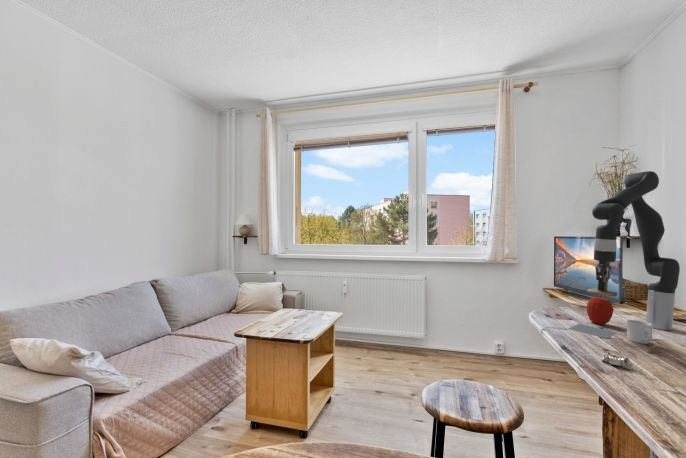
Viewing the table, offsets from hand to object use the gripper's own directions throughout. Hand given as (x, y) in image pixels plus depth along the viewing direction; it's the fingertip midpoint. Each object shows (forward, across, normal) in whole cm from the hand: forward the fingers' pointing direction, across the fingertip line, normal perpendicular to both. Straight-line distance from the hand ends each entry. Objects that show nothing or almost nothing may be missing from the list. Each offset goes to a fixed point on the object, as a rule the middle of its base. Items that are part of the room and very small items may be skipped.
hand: (602, 289), depth 144 cm
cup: (+19, 0, +14) cm, 23 cm away
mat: (+19, 0, -2) cm, 19 cm away
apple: (+19, -18, -5) cm, 26 cm away
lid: (+2, 0, 0) cm, 2 cm away
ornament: (+19, +38, +14) cm, 45 cm away
